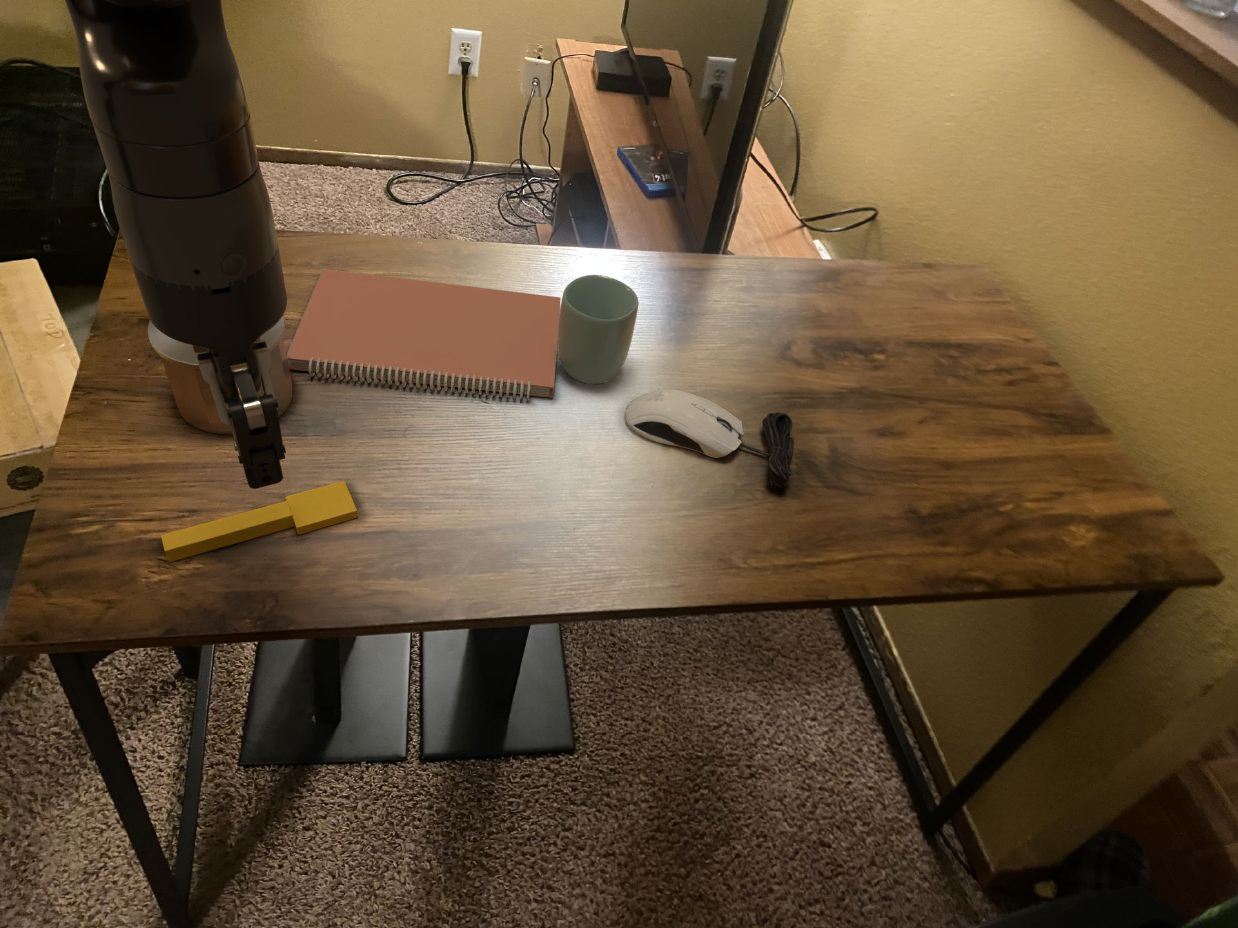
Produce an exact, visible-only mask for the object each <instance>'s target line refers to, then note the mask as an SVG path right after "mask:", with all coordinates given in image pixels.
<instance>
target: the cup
mask: <svg viewBox="0 0 1238 928" xmlns="http://www.w3.org/2000/svg"><path fill="white" fill-rule="evenodd" d="M638 311H639V298H638V296H637V294H636V293H635V291H634V290H633V288H632V287H630V286H629V285H627V284H626V283H625V282H622V281H621V280H618V279H616V278H613V277H610V276H606V275H603V274H602V275H601V274H587V275H582V276H580V277H577V278H575V279H573V280H571V281H570V282H569V283H568V284H567V285H566V287H565V288H564V290H563V292H562V297H561V300H560V314H559V327H558V340H557V353H558V360H559V363H560V365H561V367H562V368H563V371H564V372H565V373H566V374H567V375H569V376H570V377H571V378H573V379H574V380H576V381H578V382H580V383H583V384H588V385H601V384H604V383H606V382H609V381H610V380H612V379H613V378H614V377H616V376H617V374H618V373H619V372H620V371H621V369H622V367H623V366H624V364H625V362H626V359H627V358H628V354H629V351H630V348H631V345H632V340H633V337H634V331H635V326H636V322H637V317H638Z"/></svg>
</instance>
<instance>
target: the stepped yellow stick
mask: <svg viewBox="0 0 1238 928" xmlns="http://www.w3.org/2000/svg"><path fill="white" fill-rule="evenodd" d="M358 515H359V514H358V510H357V507H356V504H355V502H354V500H353V497H352V496H351V492H350V490H349V488H348V486H347V484H346V481H345V480H340V481H338V482H333V483H330V484H327V485H322V486H319V487H315V488H312V489H308V490H304V491H300V492H298V493H293V494H290V495H287V496H285V500H284V501H280V502H277V503H273V504H269V505H265V506H262V507H258V508H254V509H251V510H248V511H244V512H241V513H237V514H236V513H235V514H233V515H229V516H225V517H222V518H219V519H215V520H211V521H208V522H204V523H200V524H196V525H193V526H189V527H186V528H182V529H178V530H174V531H171V532H168V533H164V534H161V535H160V538H161V542H162V546H163V550H164V553H165V555H166V558H167V561H168V562H169V563H171V562H175V561H178V560H183V559H186V558H189V557H193V556H196V555H200V554H204V553H207V552H210V551H213V550H217V549H220V548H225V547H227V546H232V545H235V544H238V543H241V542H244V541H245V542H246V541H248V540H253V539H255V538H258V537H259V538H260V537H263V536H266V535H269V534H273V533H277V532H280V531H284V530H287V529H290V528H295V531H296V534H297V535H298V536H299V535H303V534H307V533H309V532H312V531H317V530H319V529H323V528H327V527H330V526H334V525H337V524H340V523H343V522H347V521H350V520H354V519H357V518H358V517H359V516H358Z"/></svg>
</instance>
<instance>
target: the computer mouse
mask: <svg viewBox="0 0 1238 928" xmlns="http://www.w3.org/2000/svg"><path fill="white" fill-rule="evenodd" d="M624 417H625V420H626V422H627V425H629V428H630V429H631V430H633V431H634V433H636V434H638V435H640V436H642V437H643V438H645V439H648V440H651V441H654V442H656V443H659V444H663V445H670V446H675V447H679V448H684V449H688V450H692V451H694V452H697V453H701V454H703V455H706V456H707V457H711V458H715V459H718V458H722V457H726V456H729V454H731V453H732V452H734V451H736V450H737V449H738V448H740V447H742V448H744V449H746V450H749V451H752V452H753V453H754V452H755V453H758V454H760V455H764V456H766V457H768V461H767V470H768V480H769V485H770V488H772V489H776V488H780V489H785V488H786V487H787V486H788V482H789V478H790V476H792V475H793V471H792V469H791V468H790V464H791V462H790V461H791V459H792V457H793V455H794V451H795V449H794V446H795V441H794V438H793V433H792V432H791V431H792V429H793V425H794V424H793V420H792V418H791V416H789V414H787V413H785V412H780V411H779V412H769V413H767V415H766V416H765V417H764V418H763V419H762V422H761V423H762V430H763V433H764V436H765V439H766V441H767V443H768V446H769V449H770V451H769V453H768V452H765V451H763V450H761V449H757V448H755V447H752V446H749V445H746V444H743V442H742V440H740V439H739V438H740V437H741V436H745V433H744V427H743V421H742V420H740V419H739V418H737V417H736V416H734V415H733V414H731V413H730V412H729V411H727V410H726V409H724V408H723V407H721V406H719V404H716V403H715V402H713V401H711V400H709V399H707V398H705V397H702V396H699V395H696V394H694V393H691V392H688V391H683V390H679V389H674V388H673V389H672V388H664V389H663V388H662V389H656V390H651V391H649V392H646V393H644V394H642V395H639V396H638V397H636V398H633V399H632V400H630V402H629V403H628V404H627V405H626V408H625V410H624Z"/></svg>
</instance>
